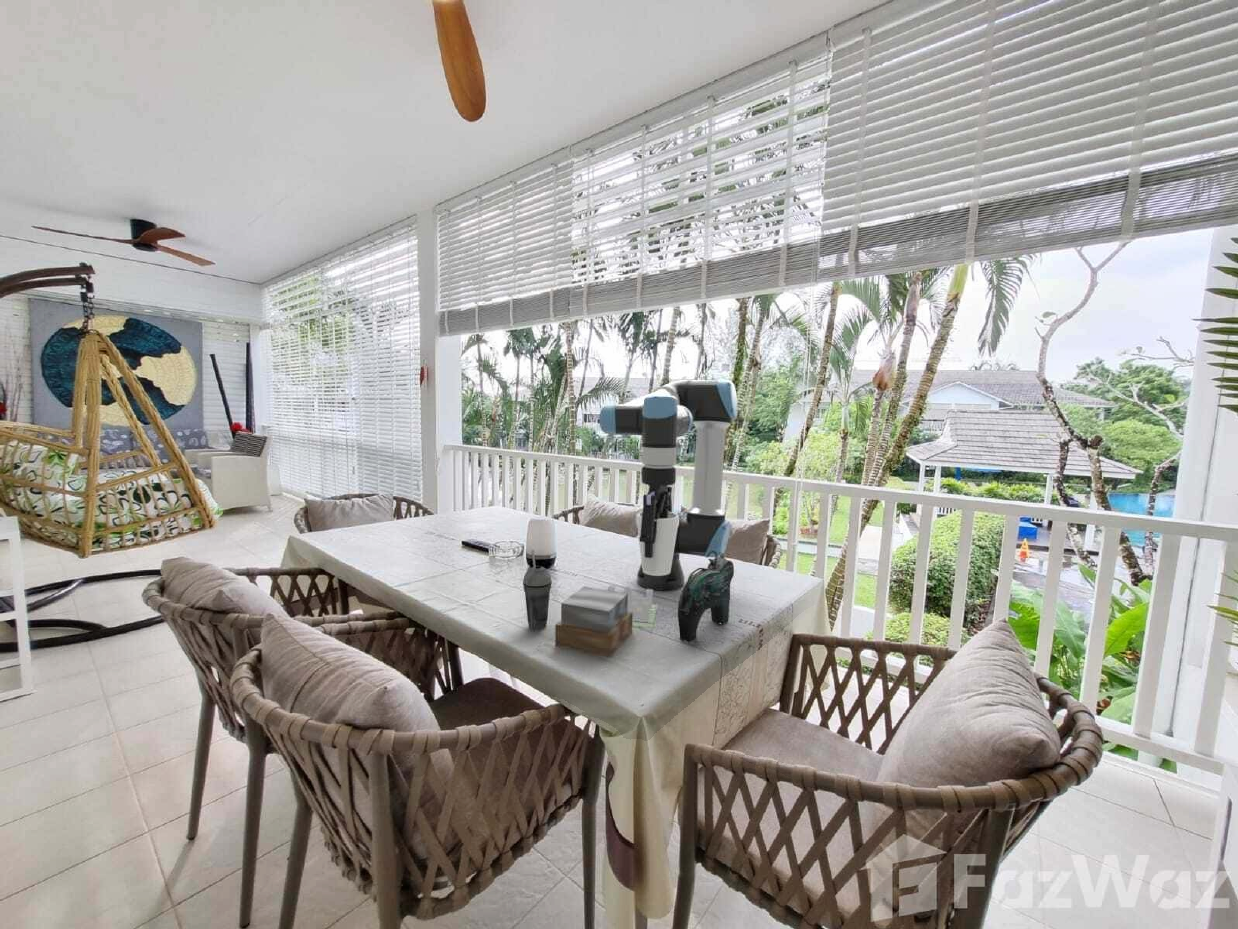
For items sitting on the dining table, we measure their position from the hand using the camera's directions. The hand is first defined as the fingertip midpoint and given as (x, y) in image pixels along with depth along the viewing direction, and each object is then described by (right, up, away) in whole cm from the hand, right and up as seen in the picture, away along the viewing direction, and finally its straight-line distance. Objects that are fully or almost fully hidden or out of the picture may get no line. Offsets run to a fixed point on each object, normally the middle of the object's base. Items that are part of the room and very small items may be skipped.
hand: (656, 564), depth 113 cm
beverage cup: (-29, -19, +13) cm, 37 cm away
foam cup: (0, -2, 0) cm, 2 cm away
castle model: (-6, -18, +23) cm, 30 cm away
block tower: (-14, -19, +8) cm, 25 cm away
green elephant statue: (+14, -19, +13) cm, 27 cm away
